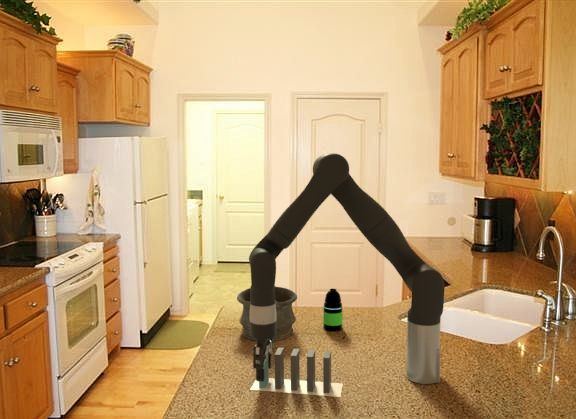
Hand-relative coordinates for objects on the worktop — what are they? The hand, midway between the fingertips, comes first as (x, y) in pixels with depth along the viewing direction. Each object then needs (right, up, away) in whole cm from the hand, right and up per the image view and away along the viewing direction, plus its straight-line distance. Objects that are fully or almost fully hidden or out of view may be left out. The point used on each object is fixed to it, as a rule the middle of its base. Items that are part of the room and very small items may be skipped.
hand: (263, 374), depth 146 cm
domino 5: (+18, -3, -3) cm, 18 cm away
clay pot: (-1, +1, +43) cm, 43 cm away
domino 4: (+13, -3, -2) cm, 14 cm away
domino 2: (+4, -3, -1) cm, 5 cm away
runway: (+9, -4, -1) cm, 10 cm away
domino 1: (0, -3, 0) cm, 3 cm away
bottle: (+24, +2, +46) cm, 52 cm away
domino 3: (+9, -3, -1) cm, 9 cm away
